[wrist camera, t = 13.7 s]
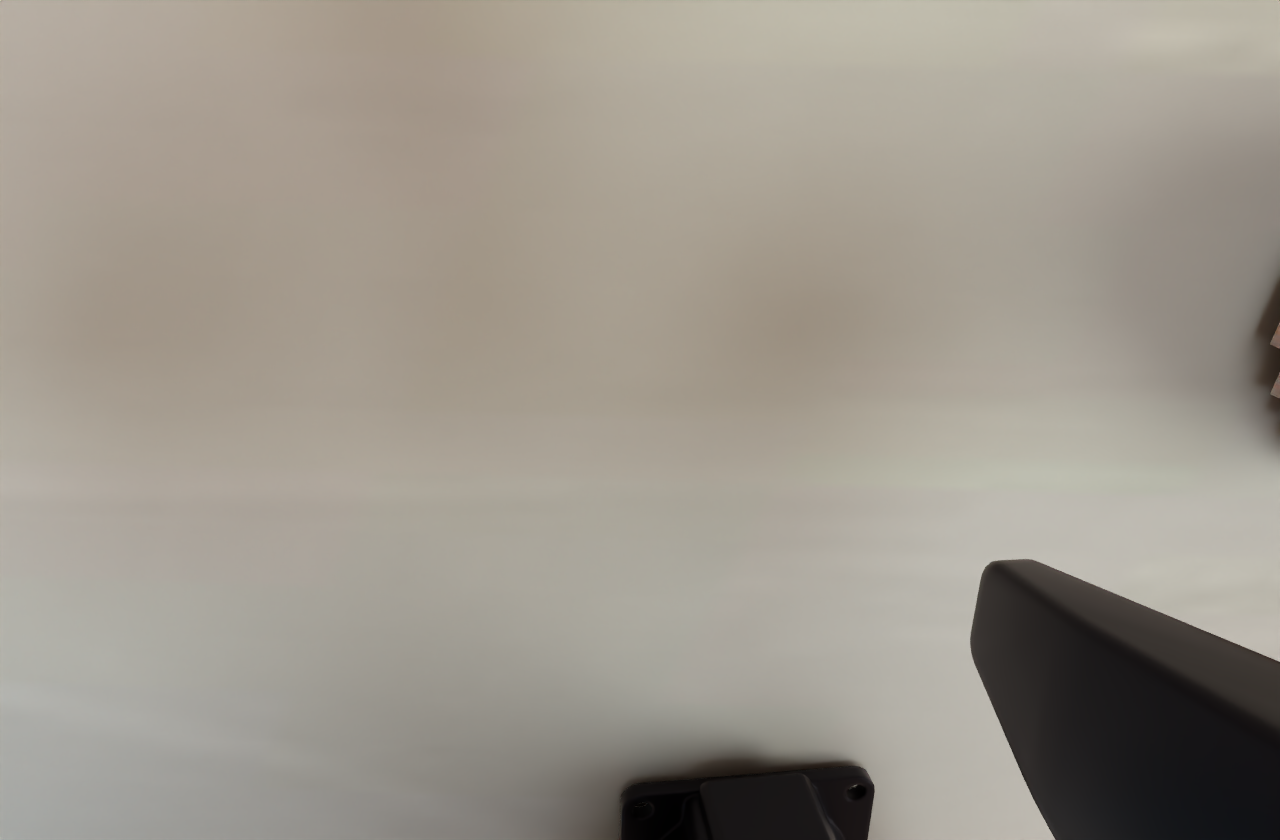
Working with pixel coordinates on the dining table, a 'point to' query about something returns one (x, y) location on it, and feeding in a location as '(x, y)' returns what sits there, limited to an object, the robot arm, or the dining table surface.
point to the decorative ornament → (1279, 386)
